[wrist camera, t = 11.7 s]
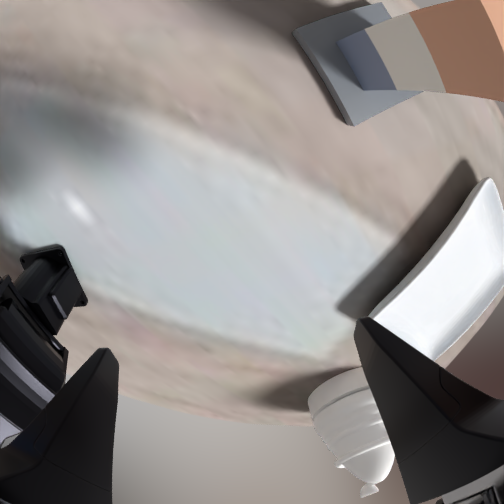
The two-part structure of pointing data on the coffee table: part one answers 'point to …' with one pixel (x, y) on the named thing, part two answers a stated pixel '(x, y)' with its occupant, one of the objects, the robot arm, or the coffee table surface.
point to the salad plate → (451, 278)
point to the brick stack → (433, 50)
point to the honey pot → (352, 427)
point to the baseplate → (337, 67)
